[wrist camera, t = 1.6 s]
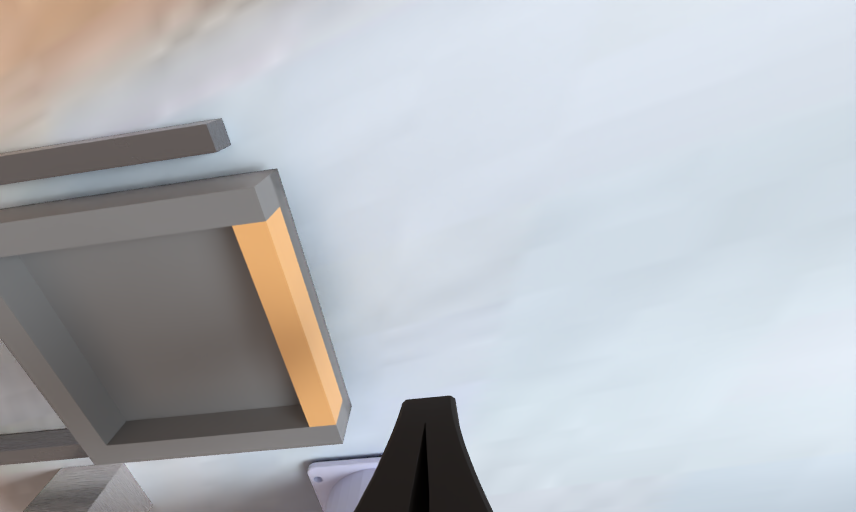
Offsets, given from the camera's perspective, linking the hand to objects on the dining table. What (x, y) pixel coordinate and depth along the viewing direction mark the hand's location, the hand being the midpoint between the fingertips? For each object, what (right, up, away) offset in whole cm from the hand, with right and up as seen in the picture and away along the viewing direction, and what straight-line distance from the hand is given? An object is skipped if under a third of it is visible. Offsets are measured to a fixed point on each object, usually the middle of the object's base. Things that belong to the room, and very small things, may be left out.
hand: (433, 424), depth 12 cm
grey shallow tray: (-11, +2, +8) cm, 14 cm away
